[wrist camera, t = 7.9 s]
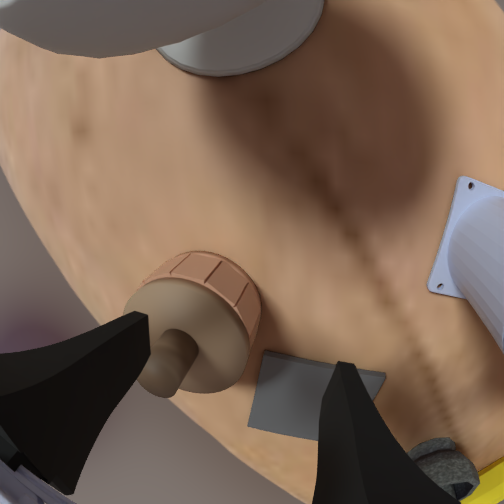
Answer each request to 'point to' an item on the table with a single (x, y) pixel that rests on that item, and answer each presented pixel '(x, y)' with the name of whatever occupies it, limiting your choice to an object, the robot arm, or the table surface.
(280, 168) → the table surface
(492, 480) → the yellow rounded block
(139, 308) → the lid
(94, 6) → the chalice
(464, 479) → the mortar and pestle
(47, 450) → the robot arm
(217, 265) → the bowl
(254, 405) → the mat
